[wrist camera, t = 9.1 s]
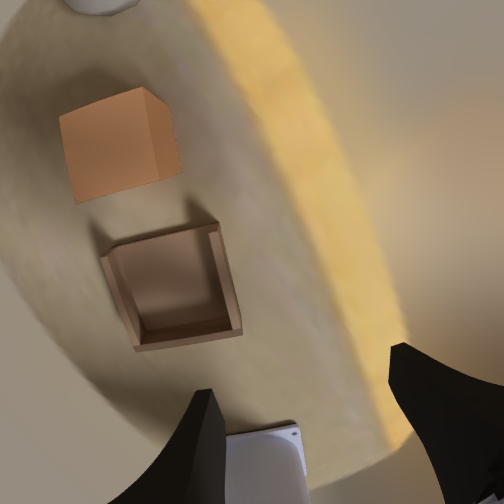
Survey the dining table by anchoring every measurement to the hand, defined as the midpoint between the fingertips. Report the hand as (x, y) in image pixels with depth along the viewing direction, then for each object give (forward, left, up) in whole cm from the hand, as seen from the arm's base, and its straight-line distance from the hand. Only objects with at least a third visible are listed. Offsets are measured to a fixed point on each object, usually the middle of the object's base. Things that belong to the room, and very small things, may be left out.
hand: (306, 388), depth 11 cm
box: (+2, +6, -9) cm, 11 cm away
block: (+11, +6, -10) cm, 15 cm away
